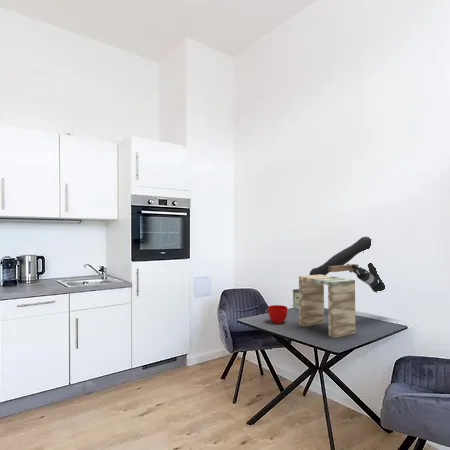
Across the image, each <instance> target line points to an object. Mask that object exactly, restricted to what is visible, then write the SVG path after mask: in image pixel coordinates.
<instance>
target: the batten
mask: <svg viewBox="0 0 450 450" xmlns="http://www.w3.org/2000/svg"><path fill="white" fill-rule="evenodd" d="M352 264H354V265H355V266H357V267H359V264H356V263H351V264H350V263H349V265H347V264H344V265H339V266H328V272H329V273H338V272H347V271H348V272H349V270H355V269H354V268H352Z"/></svg>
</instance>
